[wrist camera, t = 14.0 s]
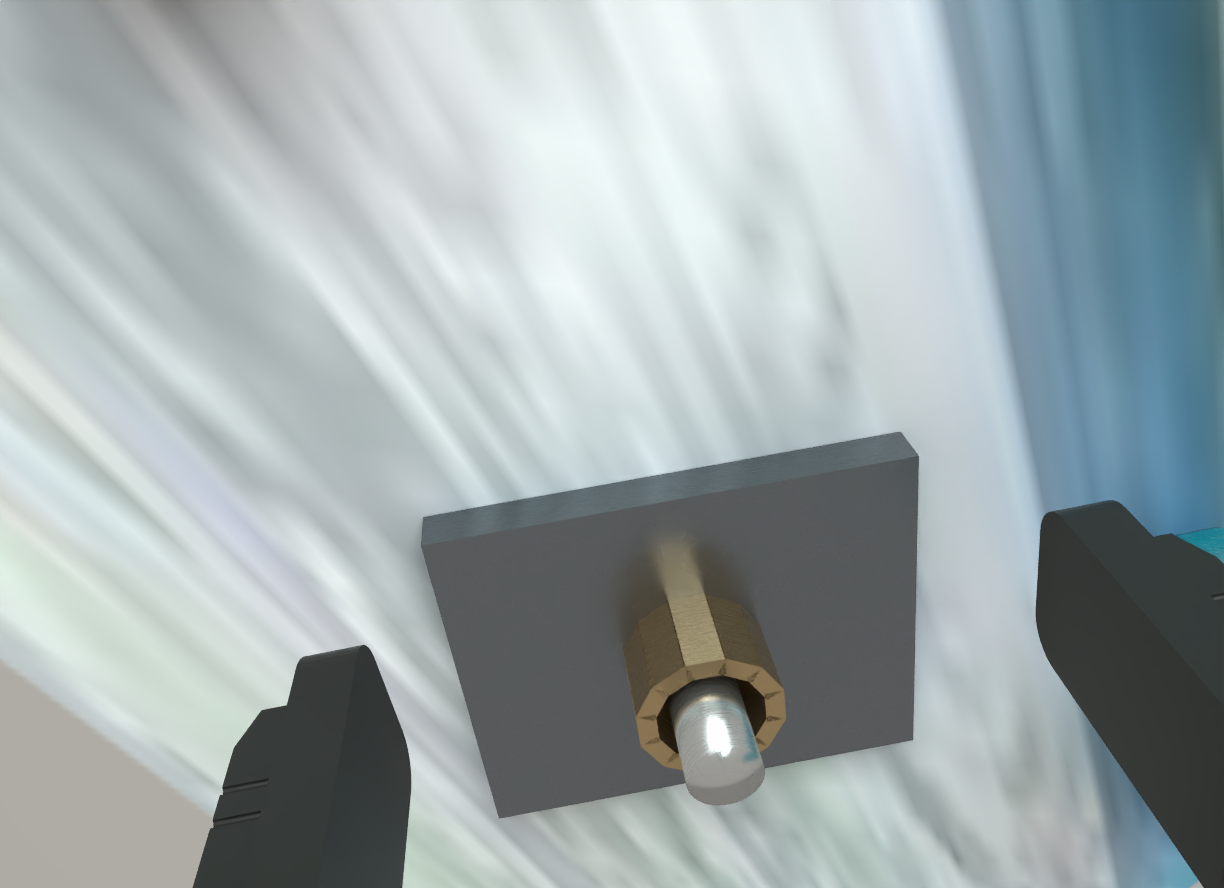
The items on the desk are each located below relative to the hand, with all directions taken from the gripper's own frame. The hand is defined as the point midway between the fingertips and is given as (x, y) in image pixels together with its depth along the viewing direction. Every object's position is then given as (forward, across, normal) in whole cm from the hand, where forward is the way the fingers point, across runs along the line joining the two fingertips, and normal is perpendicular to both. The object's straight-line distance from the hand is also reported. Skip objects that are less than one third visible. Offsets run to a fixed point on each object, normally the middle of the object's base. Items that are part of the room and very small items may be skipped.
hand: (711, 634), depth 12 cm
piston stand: (+26, -1, +22) cm, 34 cm away
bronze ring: (+24, -1, +22) cm, 33 cm away
